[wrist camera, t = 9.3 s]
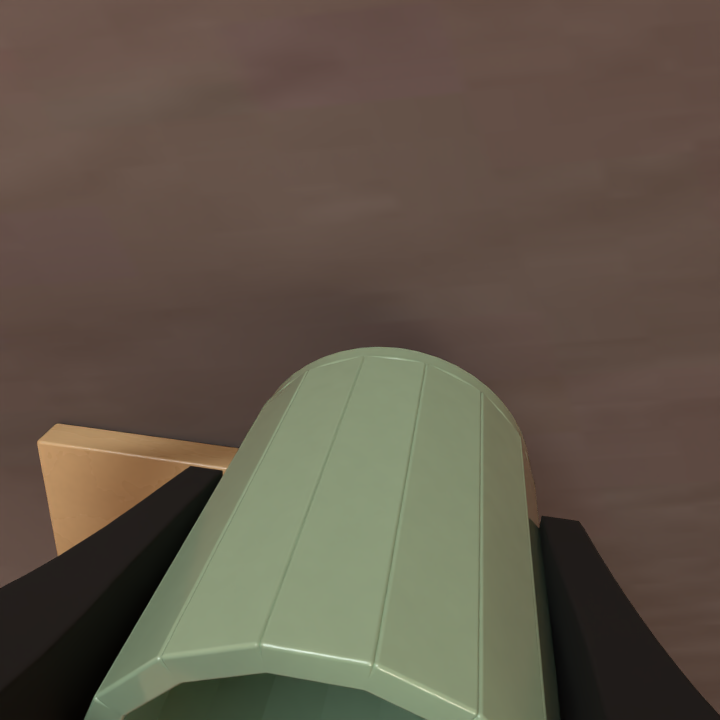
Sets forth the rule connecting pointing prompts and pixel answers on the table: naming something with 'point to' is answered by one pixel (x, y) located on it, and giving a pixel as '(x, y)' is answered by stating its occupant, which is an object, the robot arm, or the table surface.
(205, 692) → the mug
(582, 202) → the table surface
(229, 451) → the mug stand
